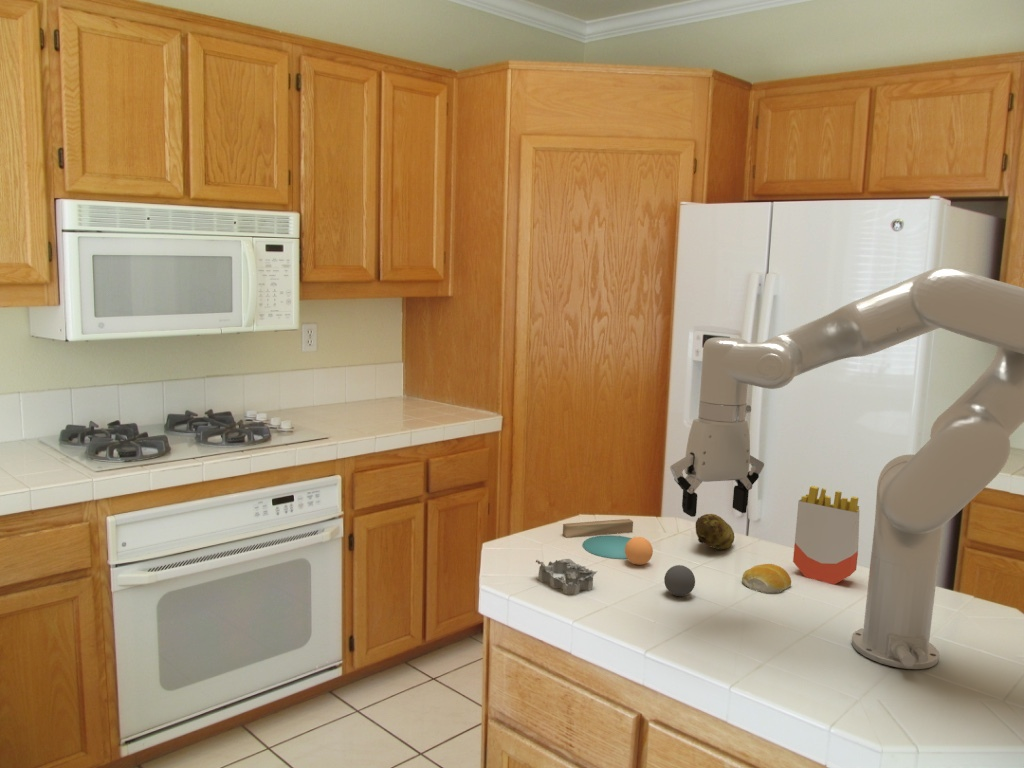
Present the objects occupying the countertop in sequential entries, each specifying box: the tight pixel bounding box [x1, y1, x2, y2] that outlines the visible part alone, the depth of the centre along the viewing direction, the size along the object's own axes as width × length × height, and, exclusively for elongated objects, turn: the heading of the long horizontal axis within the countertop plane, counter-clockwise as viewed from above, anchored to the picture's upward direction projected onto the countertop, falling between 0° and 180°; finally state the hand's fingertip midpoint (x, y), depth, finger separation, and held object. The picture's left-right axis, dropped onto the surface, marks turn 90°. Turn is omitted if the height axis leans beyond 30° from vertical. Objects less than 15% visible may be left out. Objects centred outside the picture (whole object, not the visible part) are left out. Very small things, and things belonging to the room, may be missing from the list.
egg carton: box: [535, 558, 598, 596], centre depth 156 cm, size 11×8×4 cm
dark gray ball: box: [663, 564, 696, 597], centre depth 152 cm, size 6×6×6 cm
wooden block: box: [562, 518, 634, 539], centre depth 185 cm, size 2×16×2 cm, turn 109°
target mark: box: [582, 534, 633, 560], centre depth 177 cm, size 14×14×1 cm
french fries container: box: [792, 485, 860, 585], centre depth 163 cm, size 5×11×18 cm, turn 53°
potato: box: [695, 513, 735, 550], centre depth 178 cm, size 8×13×8 cm, turn 130°
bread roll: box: [741, 563, 792, 594], centre depth 160 cm, size 8×9×4 cm
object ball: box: [625, 536, 654, 566], centre depth 167 cm, size 6×6×6 cm
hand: (714, 512), depth 142 cm, fingers open, 9 cm apart
